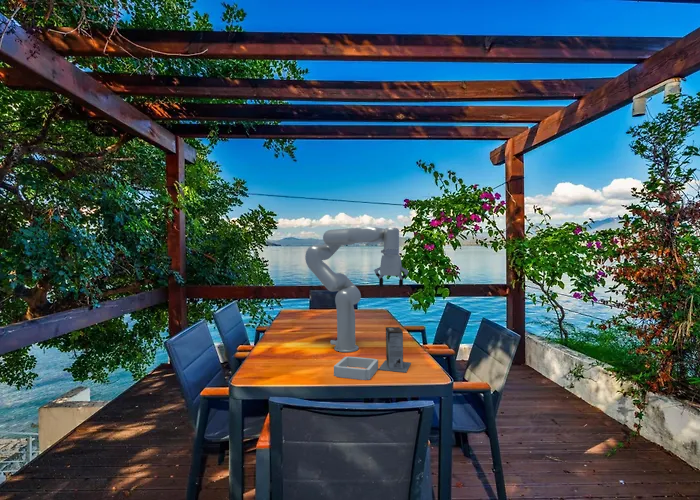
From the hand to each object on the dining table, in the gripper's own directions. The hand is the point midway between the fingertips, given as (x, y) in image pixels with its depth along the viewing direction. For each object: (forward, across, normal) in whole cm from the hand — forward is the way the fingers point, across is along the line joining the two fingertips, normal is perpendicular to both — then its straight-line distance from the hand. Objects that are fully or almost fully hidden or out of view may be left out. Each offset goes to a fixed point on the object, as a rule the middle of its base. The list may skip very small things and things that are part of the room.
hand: (390, 287), depth 174 cm
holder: (+33, -6, -30) cm, 46 cm away
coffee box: (+33, +7, -18) cm, 38 cm away
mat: (+33, +7, -18) cm, 38 cm away
